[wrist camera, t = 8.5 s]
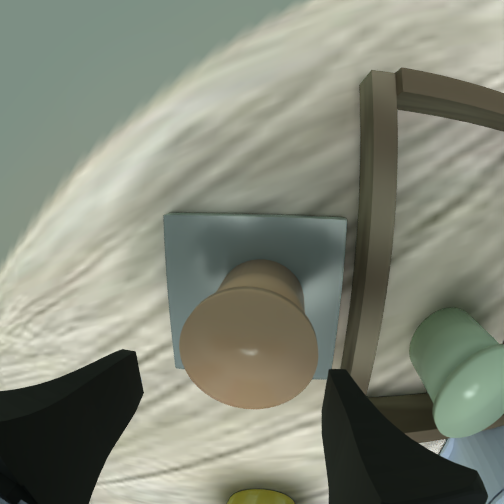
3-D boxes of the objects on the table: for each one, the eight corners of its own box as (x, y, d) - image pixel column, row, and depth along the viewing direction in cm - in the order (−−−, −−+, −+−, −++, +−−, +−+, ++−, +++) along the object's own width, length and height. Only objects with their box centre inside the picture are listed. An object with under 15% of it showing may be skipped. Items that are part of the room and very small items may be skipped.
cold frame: (493, 394, 19) (513, 422, 15) (332, 410, 21) (337, 449, 17) (541, 127, 14) (577, 124, 10) (359, 85, 16) (376, 63, 12)
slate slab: (328, 370, 20) (329, 379, 19) (180, 360, 21) (175, 368, 20) (344, 217, 17) (347, 219, 16) (169, 212, 19) (163, 215, 18)
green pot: (464, 374, 19) (501, 428, 13) (395, 380, 20) (421, 445, 13) (486, 301, 17) (539, 344, 11) (413, 302, 18) (456, 355, 12)
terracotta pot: (304, 347, 19) (307, 414, 13) (211, 337, 19) (182, 398, 13) (316, 256, 17) (328, 298, 11) (213, 247, 18) (177, 284, 12)
